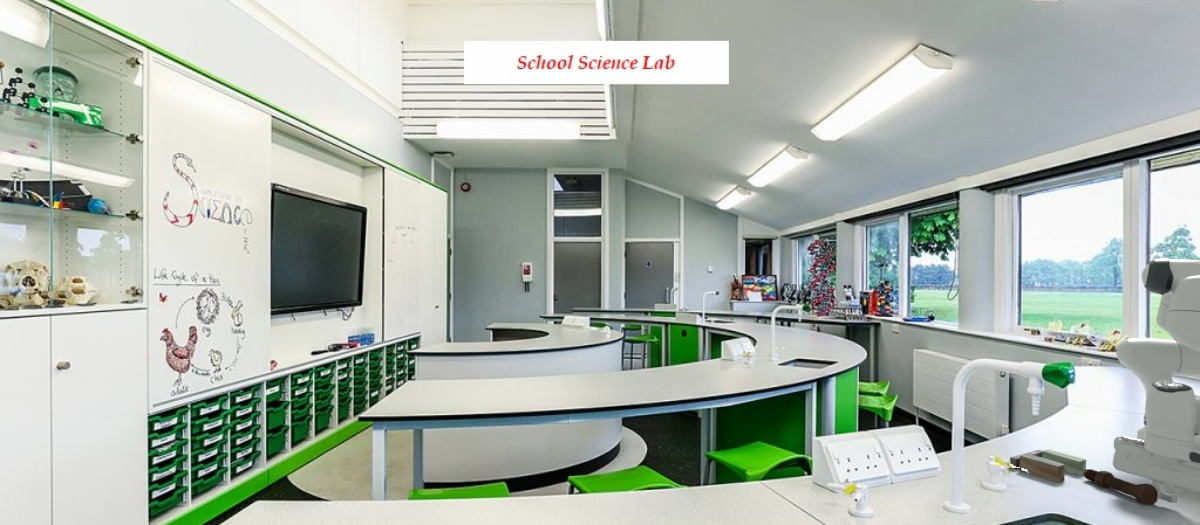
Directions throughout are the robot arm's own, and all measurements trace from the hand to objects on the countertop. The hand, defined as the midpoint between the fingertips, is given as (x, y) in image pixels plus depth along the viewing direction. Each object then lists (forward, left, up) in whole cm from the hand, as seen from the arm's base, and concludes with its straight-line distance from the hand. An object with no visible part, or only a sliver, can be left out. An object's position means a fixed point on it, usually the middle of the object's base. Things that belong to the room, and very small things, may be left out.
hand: (1167, 500), depth 130 cm
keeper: (0, -25, -1) cm, 25 cm away
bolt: (0, -9, -2) cm, 10 cm away
